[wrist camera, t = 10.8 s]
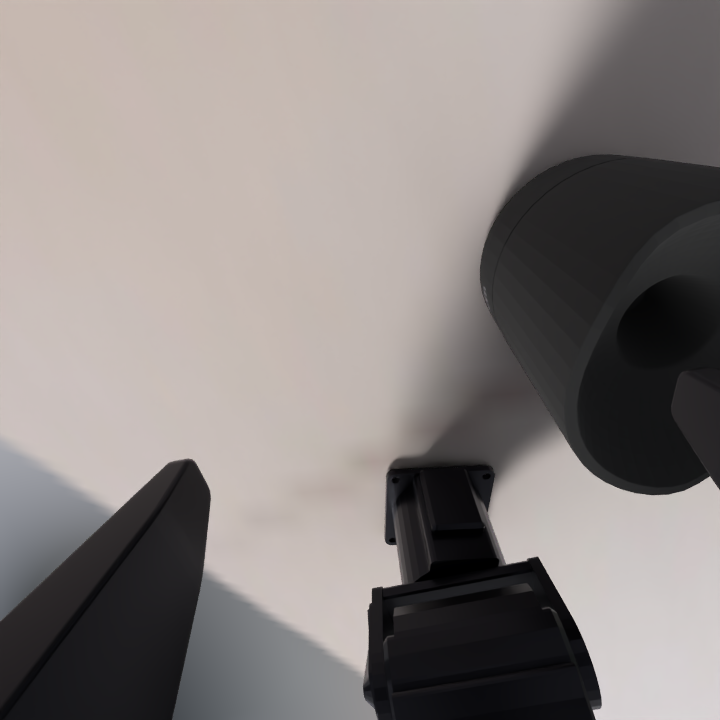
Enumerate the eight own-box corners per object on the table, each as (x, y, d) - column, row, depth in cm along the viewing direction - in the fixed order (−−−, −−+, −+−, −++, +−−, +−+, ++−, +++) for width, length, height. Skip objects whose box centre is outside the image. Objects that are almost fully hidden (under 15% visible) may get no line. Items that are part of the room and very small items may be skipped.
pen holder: (500, 128, 17) (660, 161, 9) (716, 156, 18) (1050, 210, 10) (449, 338, 22) (520, 490, 14) (623, 351, 23) (792, 502, 15)
